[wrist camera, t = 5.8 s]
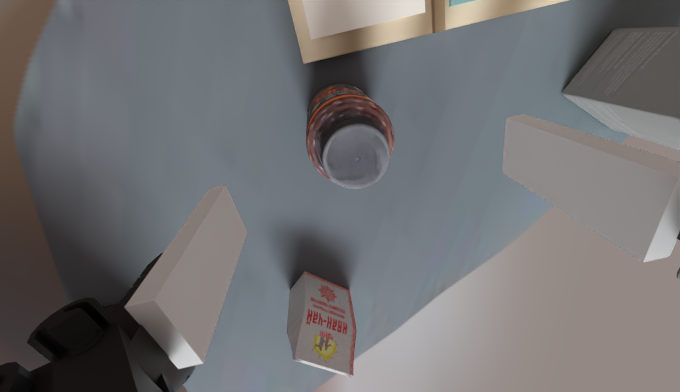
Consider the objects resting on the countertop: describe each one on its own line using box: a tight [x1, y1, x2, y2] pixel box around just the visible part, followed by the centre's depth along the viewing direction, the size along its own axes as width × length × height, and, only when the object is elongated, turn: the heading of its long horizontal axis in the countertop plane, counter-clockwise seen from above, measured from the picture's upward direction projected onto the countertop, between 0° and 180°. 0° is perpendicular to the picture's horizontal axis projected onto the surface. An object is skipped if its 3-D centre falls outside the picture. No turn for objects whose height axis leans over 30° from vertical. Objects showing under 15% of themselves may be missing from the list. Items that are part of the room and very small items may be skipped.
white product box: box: [287, 271, 356, 377], centre depth 31 cm, size 4×7×10 cm, turn 56°
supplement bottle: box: [306, 84, 394, 189], centre depth 21 cm, size 6×6×11 cm
